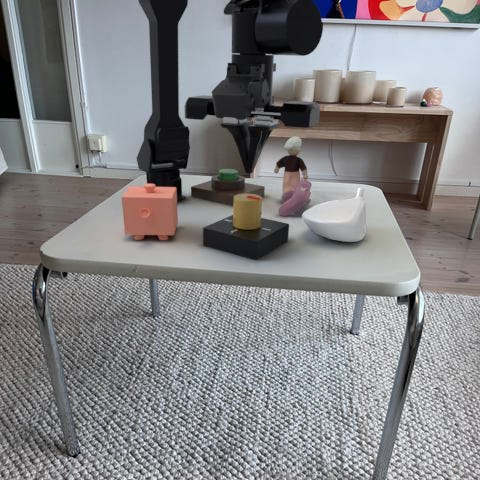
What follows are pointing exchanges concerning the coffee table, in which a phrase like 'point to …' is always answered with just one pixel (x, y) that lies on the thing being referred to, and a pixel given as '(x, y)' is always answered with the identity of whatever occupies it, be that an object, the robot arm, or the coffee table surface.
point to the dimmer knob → (247, 211)
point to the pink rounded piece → (295, 198)
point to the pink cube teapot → (150, 211)
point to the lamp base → (225, 190)
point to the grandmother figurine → (292, 165)
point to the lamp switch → (228, 174)
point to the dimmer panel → (245, 237)
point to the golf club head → (339, 218)
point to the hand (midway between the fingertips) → (249, 173)
